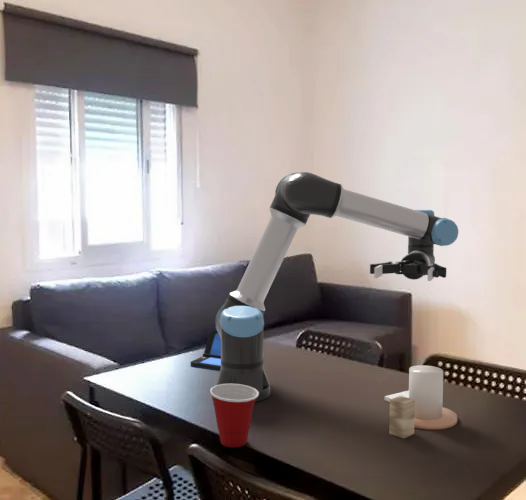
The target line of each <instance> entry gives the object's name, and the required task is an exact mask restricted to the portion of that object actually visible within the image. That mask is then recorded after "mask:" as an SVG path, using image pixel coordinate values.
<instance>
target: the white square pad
mask: <svg viewBox="0 0 526 500" xmlns="http://www.w3.org/2000/svg"><path fill="white" fill-rule="evenodd" d="M398 396H403V397H407V398H409V389H408V390H404V391H400V392H398V393H397V392H396V393H392V394H388V395H385V396H384V401H386V402H388V403H390V399H393V398H395V397H398Z"/></svg>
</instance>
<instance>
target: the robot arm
mask: <svg viewBox="0 0 526 500" xmlns="http://www.w3.org/2000/svg"><path fill="white" fill-rule="evenodd" d="M269 212H270V218H269V220H268V223H267V225H266V226H265V229H264V231H263V233H262V236H261V237H260V239H259V241H258V244H257V246H256V248H255V251H254V252H253V255H252V257H251V259H250V261H249V263H248V266H247V268H246V269H245V272H244V274H243V275H242V278H241V280H240V282H239V284H238V286H237V288H236V290H233V291H231V292H229V294H228V296H227V298H226V299H225V301H224V303H223V305H222V306H221V307H220V309H218V312H217V314H216V316H215V330H216V331H218V334H219V336H220V339H221V369H220V370H219V372H218V376H217V379H216V382H215V385H214V386H216V385H220V384H242V385H246V386H250V387H252V388H255V389H256V390H257V391H258V392H259V395H258V397H257V398H256V400H255V403H256V402H260V401H263V400H266V399H267V398H269V397H270V395H271V385H270V381H269V379H268V375H267V372H266V370H265V366H264V362H265V361H264V357H265V356H264V354H265V353H264V349H265V348H264V346H265V345H264V327H265V319H264V314H265V311H266V307H265V304H264V302H265V299H266V298H267V295H268V293H269V290H270V288H271V286H272V284H273V282H274V280H275V278H276V276H277V273H278V272H279V270H280V268H281V266H282V263H283V262H284V259H285V257H286V254H287V252H288V250H289V248H290V246H291V244H292V242H293V239H294V238H295V235H296V234H297V232H298V229H299V228H301V227H304V226H306V224H307V222H308V220H309V218H310V215H315V216H322V217H325V218H328V219H329V218H330V219H332V218H334V217H338V218H342V219H346V220H350V221H353V222H357V223H359V224H360V223H361V224H364V225H368V226H372V227H374V228H377V229H381V230H385V231H388V232H391V233H396V234H399V235H402V236H405V237H408V239H407V241H408V242H407V243H408V244H407V245H408V246H407V254H406V255H405V256H403V257H402V259H401V261H396V262H394V263H393V261H387V262H379V263H371V264H369V274H371V275H374V276H373V277H374V279H378V278H379V277H382V276H383V275H388V274H389V275H390V274H395V275H403V276H404V277H405V278H406V279H409V280H415V281H416V280H419V279H421V278H423V277H424V276H427V282H432V280H433V279H434V278H439V277H440V278H447V267H445V266H443V265H439V264H437V263H436V262H435V261H436V259H435V258H436V257H435V255H434V254H435V253H434V251H435V249H434V245H435V246H436V245H437V246H440V247H445V246H450V245H452V244H453V243H455V242H456V241H457V238H458V237H459V226H458V225H457V224H456V222H455V221H454V220H452V219H449V218H448V217H439V216H436V215H435V212H434V211H433V210H432V209H414V208H413V209H412V208H409V207H406V206H402V205H398V204H397V203H396V204H395V203H392V202H388V201H386V200H385V201H384V200H383V199H380V198H379V199H378V198H375V197H371V196H369V195H365V194H361V193H359V192H355V191H351V190H348V189H345V188H344V187H343V184H341V183H338V182H335V181H332V180H329V179H326V178H324V177H322V176H320V175H317V174H314V173H313V172H312V173H311V172H309V171H302V172H291V173H289V174H287V175H285V176H284V177H283V178H281V179H280V180H279V182H277V185H276V187H275V192H274V198H273V199H272V202H271V204H270V206H269Z"/></svg>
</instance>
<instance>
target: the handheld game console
mask: <svg viewBox="0 0 526 500" xmlns="http://www.w3.org/2000/svg"><path fill="white" fill-rule="evenodd" d="M190 365H191V366H192V367H197V368H202V369H209V370H215V371H220V369H221V339H220V336H219V334H218V331H217V330H211V331H210V332H209V334H208V338H207V341H206V344H205V348H204V352H203V353H202V356H200V357H198V358H196V359H194V360H192V361H190Z"/></svg>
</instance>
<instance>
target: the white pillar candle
mask: <svg viewBox="0 0 526 500" xmlns="http://www.w3.org/2000/svg"><path fill="white" fill-rule="evenodd" d="M408 373H409V374H408V390H409V398H410V399H414V400H415V417H414V418H418V419H423V420H435V419H439V418H441V417H442V407H443V400H444V399H443V398H444V397H443V396H444V395H443V393H444V370H443V369H442V368H441V367H437V366H433V365H425V364H424V365H421V364H420V365H413V366H410V367H409V368H408Z"/></svg>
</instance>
